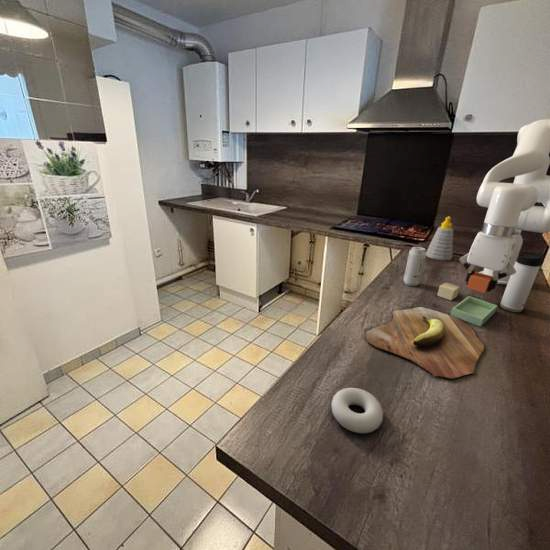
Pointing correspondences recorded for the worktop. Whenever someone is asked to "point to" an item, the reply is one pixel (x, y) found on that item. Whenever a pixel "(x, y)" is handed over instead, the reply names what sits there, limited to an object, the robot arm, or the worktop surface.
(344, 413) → the donut
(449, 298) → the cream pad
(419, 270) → the energy drink can
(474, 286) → the orange block
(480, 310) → the tray
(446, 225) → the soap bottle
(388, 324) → the cutting board
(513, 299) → the travel mug
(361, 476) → the worktop surface
